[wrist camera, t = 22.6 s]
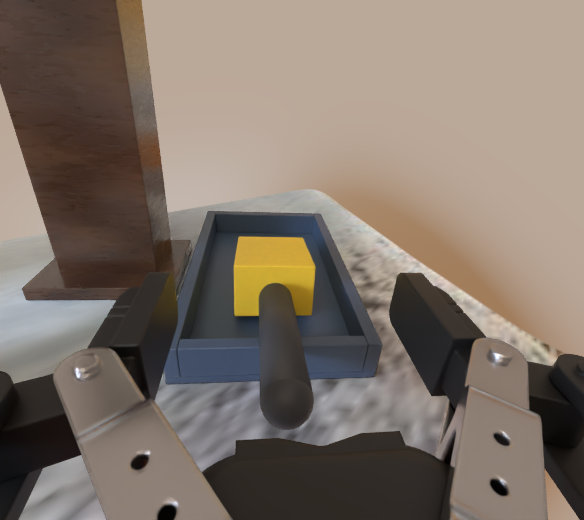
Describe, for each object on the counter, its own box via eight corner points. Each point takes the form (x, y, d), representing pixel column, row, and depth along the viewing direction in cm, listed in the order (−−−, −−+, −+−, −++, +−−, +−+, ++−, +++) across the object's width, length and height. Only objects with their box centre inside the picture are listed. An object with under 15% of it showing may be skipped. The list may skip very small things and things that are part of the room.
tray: (166, 384, 18) (160, 349, 17) (209, 233, 35) (207, 210, 34) (374, 377, 19) (382, 344, 18) (318, 235, 36) (320, 213, 35)
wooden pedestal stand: (26, 300, 23) (-396, -781, 8) (78, 248, 30) (-95, -385, 15) (173, 299, 25) (49, -648, 9) (191, 249, 32) (137, -338, 16)
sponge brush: (217, 461, 12) (214, 383, 11) (238, 277, 27) (238, 236, 26) (353, 454, 13) (365, 378, 11) (300, 278, 27) (303, 237, 26)
